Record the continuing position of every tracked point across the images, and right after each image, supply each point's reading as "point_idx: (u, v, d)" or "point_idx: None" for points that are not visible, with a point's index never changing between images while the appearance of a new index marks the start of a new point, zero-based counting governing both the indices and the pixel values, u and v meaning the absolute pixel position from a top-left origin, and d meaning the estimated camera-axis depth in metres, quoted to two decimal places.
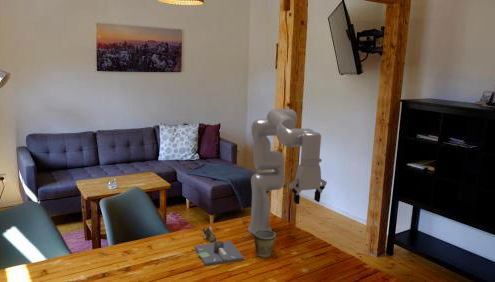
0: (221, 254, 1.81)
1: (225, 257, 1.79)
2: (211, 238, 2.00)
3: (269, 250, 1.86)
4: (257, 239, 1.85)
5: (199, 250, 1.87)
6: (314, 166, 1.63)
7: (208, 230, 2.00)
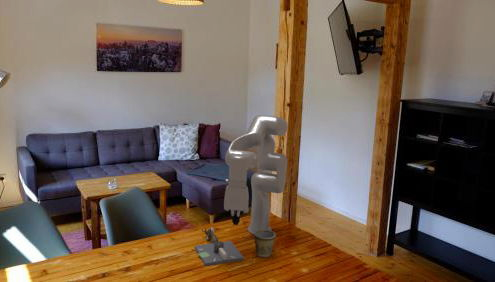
0: (221, 254, 1.81)
1: (225, 257, 1.79)
2: (213, 239, 1.99)
3: (269, 250, 1.86)
4: (257, 239, 1.85)
5: (199, 250, 1.87)
6: None
7: (210, 231, 1.99)
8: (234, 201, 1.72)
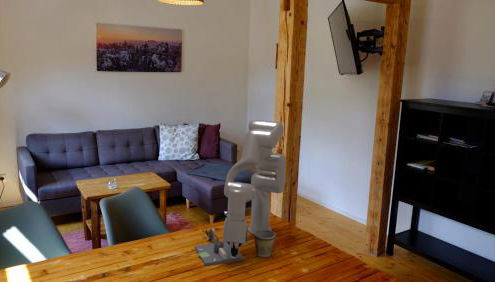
0: (221, 254, 1.81)
1: (225, 257, 1.79)
2: (214, 240, 1.99)
3: (269, 250, 1.86)
4: (257, 239, 1.85)
5: (199, 250, 1.87)
6: None
7: (211, 231, 1.98)
8: (232, 233, 1.75)
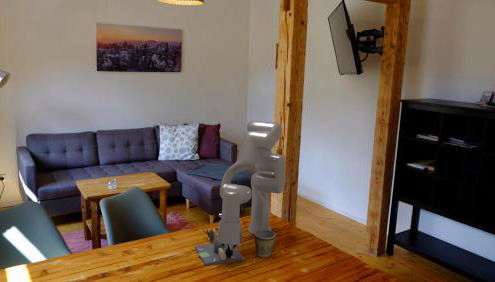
0: (220, 254, 1.81)
1: (224, 257, 1.79)
2: (215, 240, 1.98)
3: (269, 250, 1.86)
4: (257, 239, 1.85)
5: (199, 250, 1.87)
6: None
7: (212, 232, 1.98)
8: (227, 235, 1.75)
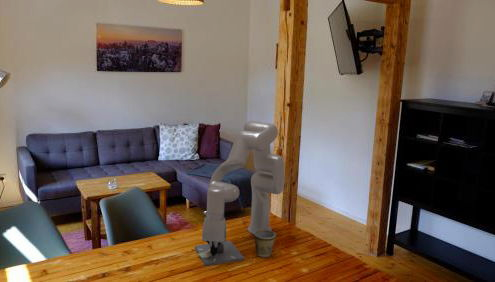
0: None
1: (205, 255, 1.80)
2: None
3: (269, 250, 1.86)
4: (257, 239, 1.85)
5: (199, 250, 1.87)
6: None
7: None
8: (211, 233, 1.76)
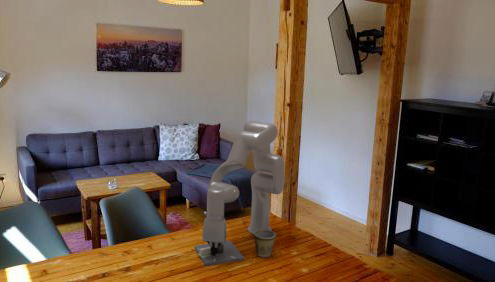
0: None
1: (200, 252, 1.83)
2: None
3: (269, 250, 1.86)
4: (257, 239, 1.85)
5: (199, 250, 1.87)
6: None
7: None
8: (211, 233, 1.77)
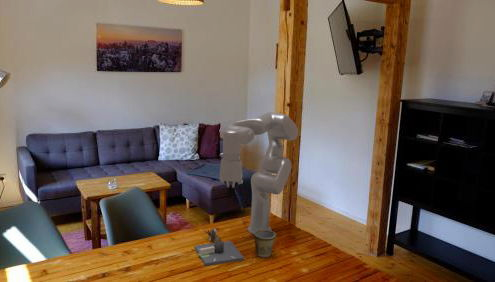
0: None
1: (200, 252, 1.83)
2: (216, 240, 1.98)
3: (269, 250, 1.86)
4: (257, 239, 1.85)
5: (199, 250, 1.87)
6: None
7: (213, 232, 1.98)
8: (228, 173, 1.84)
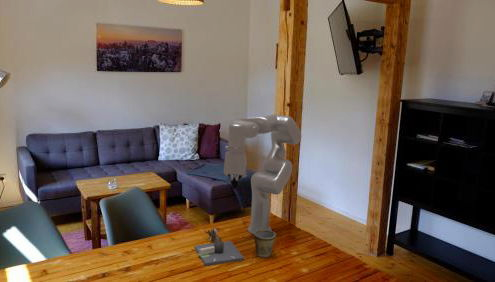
0: None
1: (200, 252, 1.83)
2: (216, 240, 1.98)
3: (269, 250, 1.86)
4: (257, 239, 1.85)
5: (199, 250, 1.87)
6: None
7: (213, 232, 1.98)
8: (233, 166, 1.86)
